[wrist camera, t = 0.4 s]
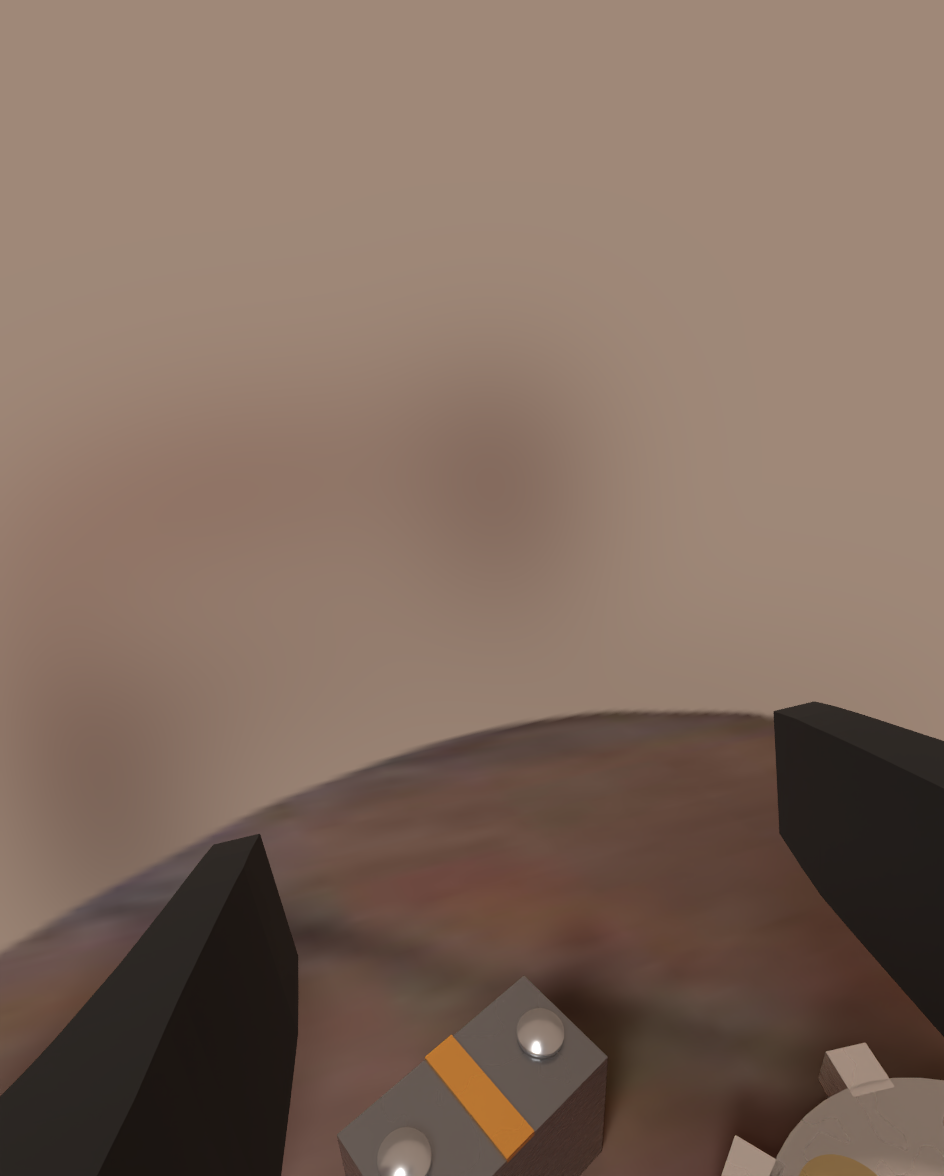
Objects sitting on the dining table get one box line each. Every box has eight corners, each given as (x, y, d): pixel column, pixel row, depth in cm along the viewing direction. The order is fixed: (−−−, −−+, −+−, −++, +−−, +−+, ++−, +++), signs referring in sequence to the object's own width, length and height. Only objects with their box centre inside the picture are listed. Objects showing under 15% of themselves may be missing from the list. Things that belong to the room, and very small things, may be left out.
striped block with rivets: (428, 1348, 20) (413, 1251, 18) (357, 1228, 23) (335, 1128, 20) (601, 1152, 24) (608, 1051, 22) (525, 1068, 26) (523, 970, 24)
